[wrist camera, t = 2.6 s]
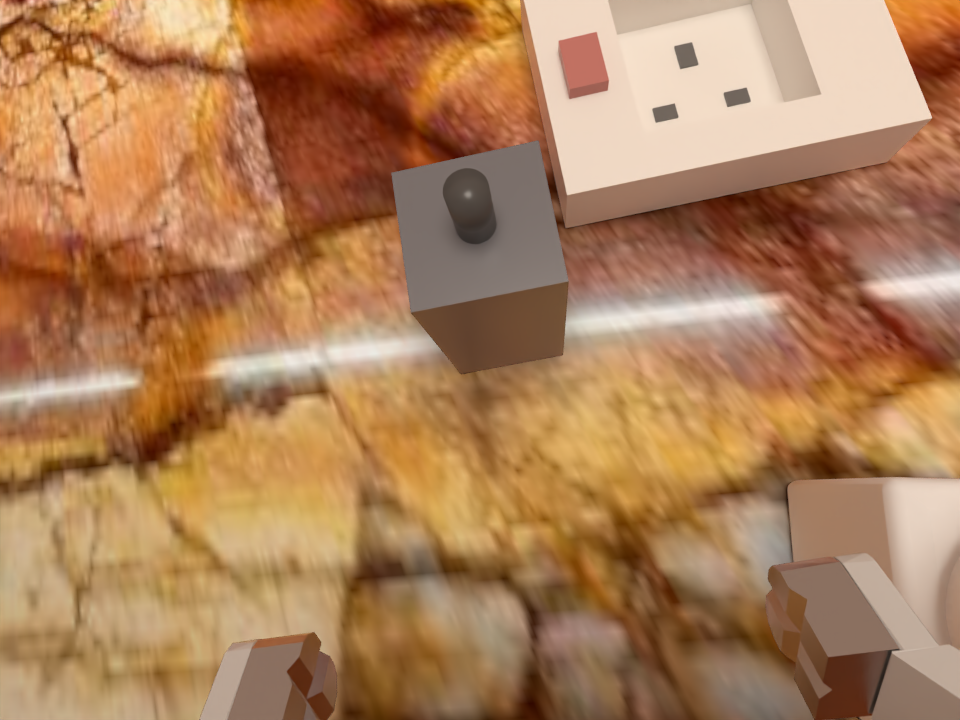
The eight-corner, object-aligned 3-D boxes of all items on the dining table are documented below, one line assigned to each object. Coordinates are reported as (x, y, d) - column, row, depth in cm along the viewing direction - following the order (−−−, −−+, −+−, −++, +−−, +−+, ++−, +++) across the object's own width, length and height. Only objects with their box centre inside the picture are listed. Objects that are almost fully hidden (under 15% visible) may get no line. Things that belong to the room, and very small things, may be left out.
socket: (565, 228, 26) (567, 187, 22) (522, 29, 28) (517, -36, 25) (887, 162, 24) (942, 107, 21) (810, -39, 27) (848, -117, 23)
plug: (461, 374, 25) (391, 288, 14) (446, 279, 26) (370, 132, 15) (563, 355, 24) (570, 252, 14) (543, 259, 25) (536, 94, 15)
